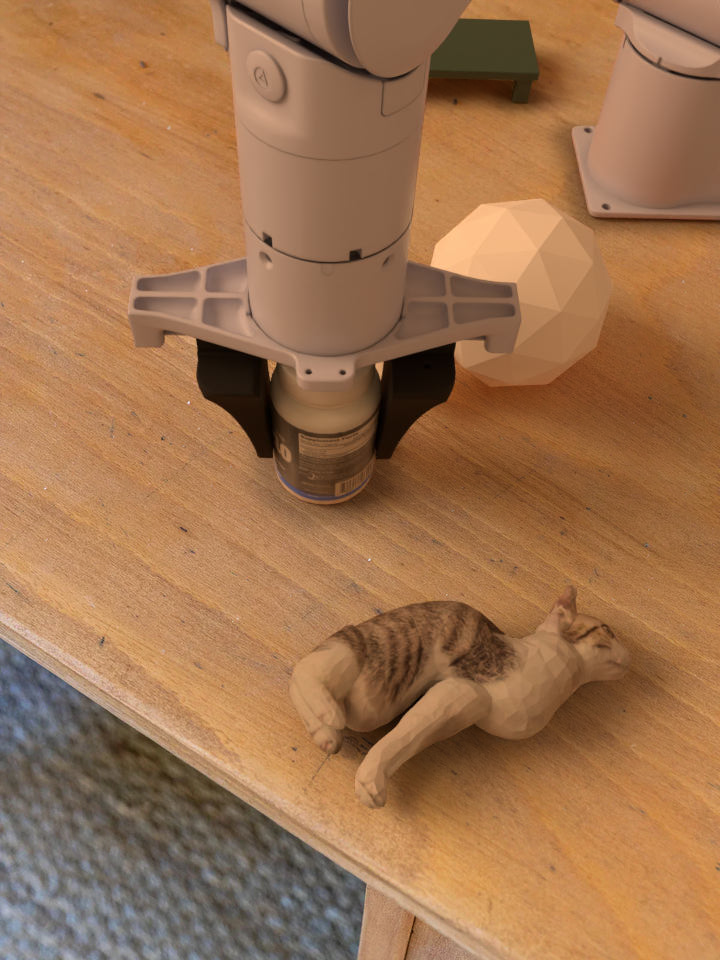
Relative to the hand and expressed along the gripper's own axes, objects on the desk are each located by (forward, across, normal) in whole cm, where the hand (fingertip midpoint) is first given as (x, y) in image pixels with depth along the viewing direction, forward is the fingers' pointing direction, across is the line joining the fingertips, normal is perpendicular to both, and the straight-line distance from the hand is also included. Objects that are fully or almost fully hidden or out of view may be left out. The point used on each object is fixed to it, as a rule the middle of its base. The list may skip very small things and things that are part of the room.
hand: (323, 440), depth 43 cm
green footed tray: (+2, +8, +31) cm, 32 cm away
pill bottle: (+2, 0, 0) cm, 2 cm away
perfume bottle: (+2, +8, +7) cm, 11 cm away
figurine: (0, +3, -18) cm, 18 cm away
